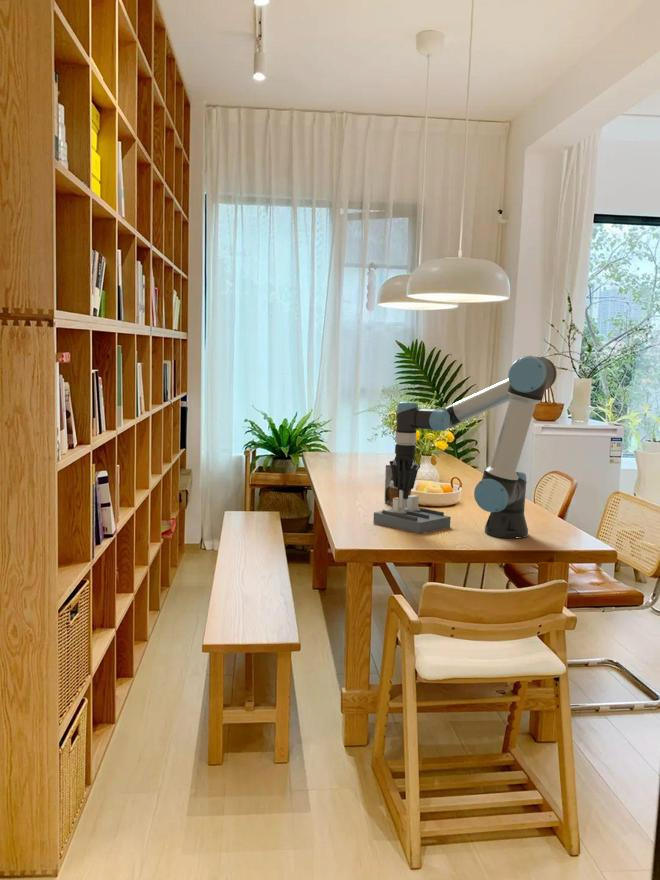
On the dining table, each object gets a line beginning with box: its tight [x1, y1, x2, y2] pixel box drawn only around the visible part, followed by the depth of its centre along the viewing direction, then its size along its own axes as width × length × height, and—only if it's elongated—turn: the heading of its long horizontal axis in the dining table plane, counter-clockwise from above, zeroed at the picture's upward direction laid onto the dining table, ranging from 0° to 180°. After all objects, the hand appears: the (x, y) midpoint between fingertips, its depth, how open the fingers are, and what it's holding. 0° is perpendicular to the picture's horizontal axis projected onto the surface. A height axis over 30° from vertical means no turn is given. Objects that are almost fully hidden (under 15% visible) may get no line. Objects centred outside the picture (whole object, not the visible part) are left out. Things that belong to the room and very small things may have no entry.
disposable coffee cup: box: [389, 481, 412, 508], centre depth 307 cm, size 10×10×12 cm
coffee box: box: [383, 464, 393, 505], centre depth 324 cm, size 9×6×16 cm
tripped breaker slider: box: [391, 497, 407, 514], centre depth 280 cm, size 4×5×6 cm
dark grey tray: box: [372, 494, 451, 534], centre depth 281 cm, size 22×18×10 cm
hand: (402, 507), depth 279 cm, fingers closed
